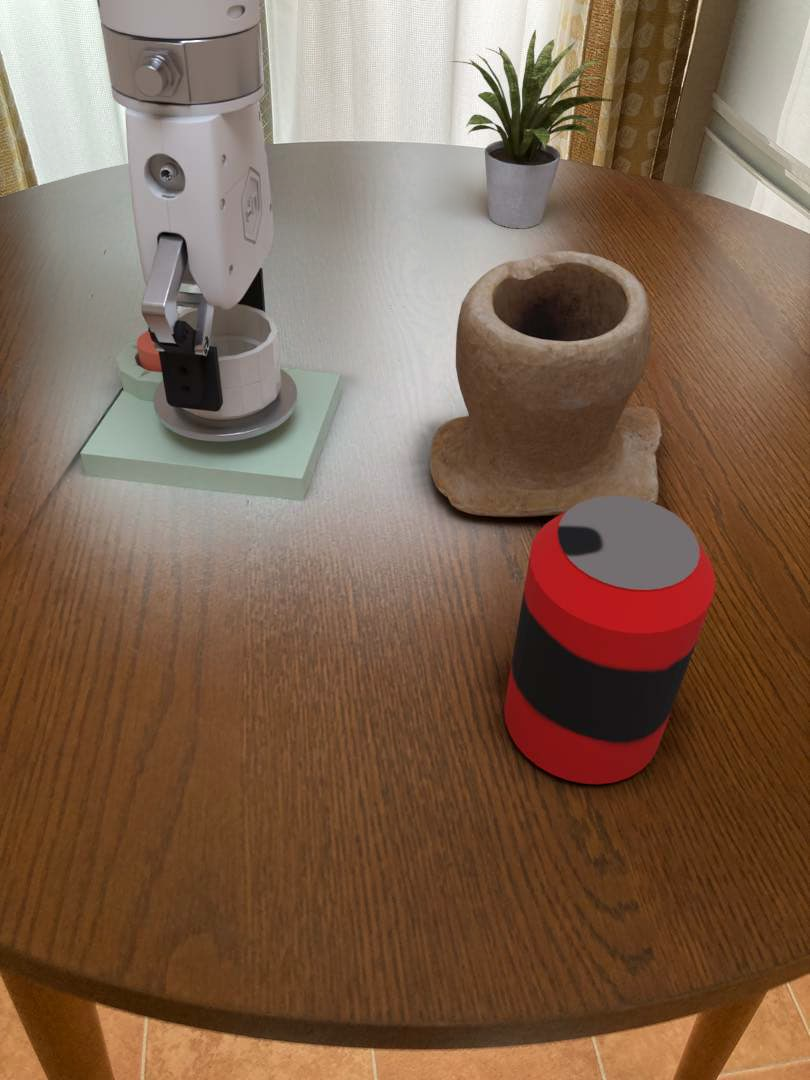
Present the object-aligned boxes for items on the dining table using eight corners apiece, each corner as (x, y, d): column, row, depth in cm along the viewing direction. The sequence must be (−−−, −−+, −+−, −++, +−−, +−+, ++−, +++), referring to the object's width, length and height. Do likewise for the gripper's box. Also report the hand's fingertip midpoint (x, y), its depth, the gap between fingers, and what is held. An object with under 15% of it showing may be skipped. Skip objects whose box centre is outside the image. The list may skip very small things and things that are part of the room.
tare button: (132, 371, 62) (128, 351, 60) (150, 344, 64) (147, 324, 63) (184, 376, 61) (181, 356, 60) (201, 349, 64) (198, 329, 63)
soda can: (492, 665, 48) (519, 483, 40) (636, 660, 48) (691, 479, 40) (516, 793, 42) (553, 611, 34) (678, 785, 43) (752, 605, 34)
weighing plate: (133, 433, 56) (131, 426, 55) (180, 356, 62) (179, 350, 62) (278, 449, 55) (277, 442, 55) (311, 370, 62) (310, 363, 61)
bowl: (156, 418, 56) (145, 353, 53) (191, 360, 61) (182, 298, 58) (265, 430, 56) (260, 365, 52) (292, 371, 61) (288, 309, 58)
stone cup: (439, 556, 54) (457, 324, 44) (422, 436, 62) (434, 220, 52) (693, 550, 55) (767, 322, 45) (641, 433, 63) (693, 221, 53)
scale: (74, 475, 58) (62, 430, 56) (145, 370, 67) (137, 327, 65) (303, 502, 57) (301, 457, 54) (343, 391, 66) (342, 348, 64)
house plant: (486, 265, 82) (505, 66, 71) (408, 208, 91) (415, 23, 80) (611, 235, 88) (646, 46, 77) (526, 184, 96) (547, 8, 85)
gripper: (207, 126, 39) (241, 452, 50) (300, 24, 51) (309, 303, 63) (37, 111, 39) (108, 437, 51) (170, 13, 52) (203, 292, 64)
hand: (220, 362), depth 57 cm, fingers open, 9 cm apart
